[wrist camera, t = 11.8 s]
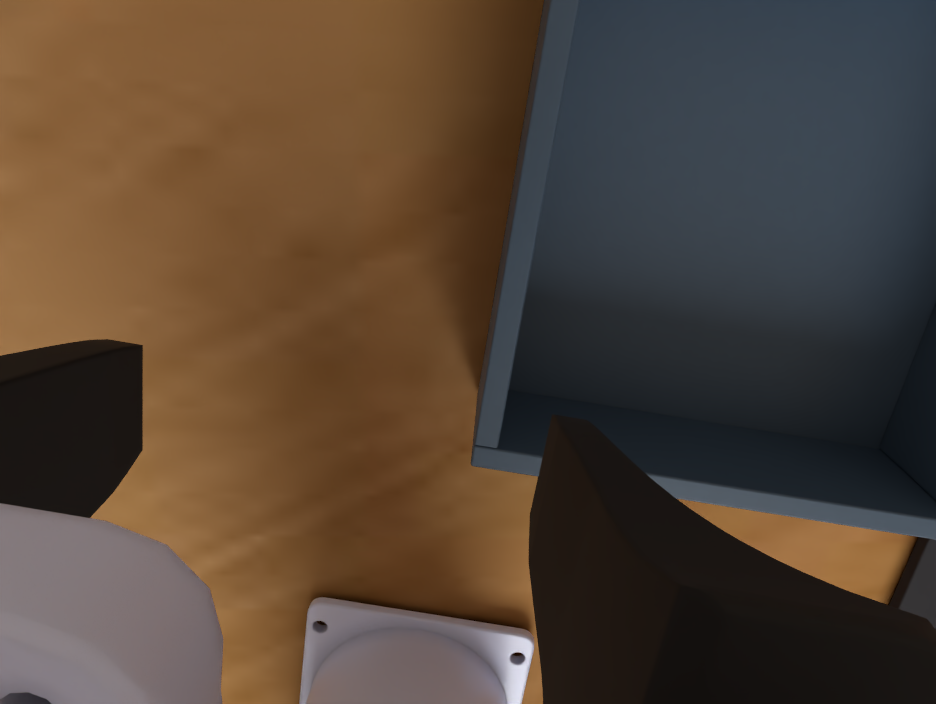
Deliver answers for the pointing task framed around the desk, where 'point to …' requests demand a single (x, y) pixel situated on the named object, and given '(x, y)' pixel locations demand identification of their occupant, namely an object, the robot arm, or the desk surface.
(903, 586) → the mat
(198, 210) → the desk surface
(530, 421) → the bin
